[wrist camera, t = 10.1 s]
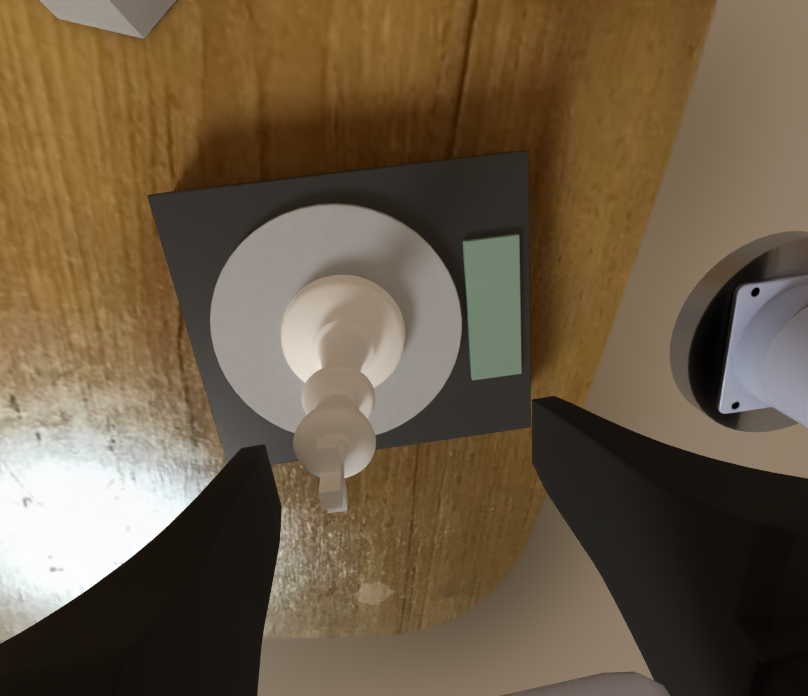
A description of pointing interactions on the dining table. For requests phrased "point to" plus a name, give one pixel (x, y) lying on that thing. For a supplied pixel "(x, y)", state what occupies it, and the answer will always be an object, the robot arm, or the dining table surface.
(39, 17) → the dining table surface
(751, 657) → the robot arm
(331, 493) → the chess piece
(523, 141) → the dining table surface
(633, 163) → the dining table surface
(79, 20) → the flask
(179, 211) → the scale
